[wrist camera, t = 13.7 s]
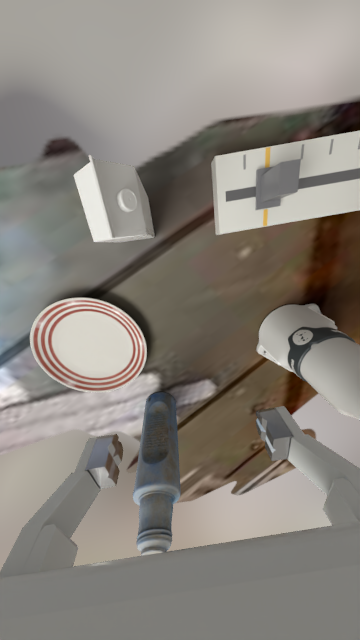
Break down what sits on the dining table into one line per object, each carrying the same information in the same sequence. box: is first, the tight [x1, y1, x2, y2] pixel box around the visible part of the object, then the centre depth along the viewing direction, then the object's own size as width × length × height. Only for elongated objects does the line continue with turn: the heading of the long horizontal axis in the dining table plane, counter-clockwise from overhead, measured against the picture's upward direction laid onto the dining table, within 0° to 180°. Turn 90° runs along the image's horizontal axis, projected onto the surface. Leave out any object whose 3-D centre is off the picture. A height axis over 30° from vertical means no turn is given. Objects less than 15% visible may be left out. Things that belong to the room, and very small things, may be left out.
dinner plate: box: [30, 297, 147, 393], centre depth 45 cm, size 28×27×3 cm
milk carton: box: [74, 155, 155, 242], centre depth 27 cm, size 7×7×19 cm
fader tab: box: [255, 159, 301, 210], centre depth 29 cm, size 4×6×6 cm
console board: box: [211, 131, 360, 235], centre depth 33 cm, size 30×12×3 cm, turn 99°
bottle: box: [133, 392, 180, 556], centre depth 42 cm, size 10×10×30 cm
